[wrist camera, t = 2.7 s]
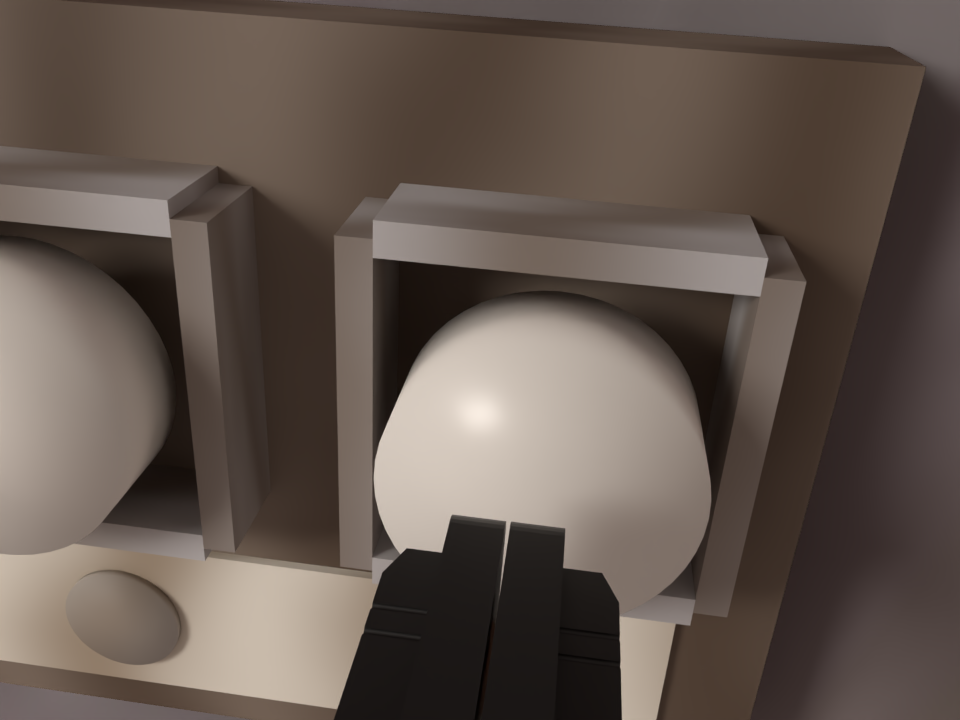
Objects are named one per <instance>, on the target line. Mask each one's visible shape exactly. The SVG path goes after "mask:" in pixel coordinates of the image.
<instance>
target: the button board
mask: <svg viewBox="0 0 960 720" xmlns="http://www.w3.org/2000/svg"><path fill="white" fill-rule="evenodd" d="M925 69H926V67H925V66H924V65H922V64H920V63H918V62H916V61H914V60H913V59H911V58H909V57H907V56H905V55H903V54H902V53H900V52H898V51H896V50H894V49H893V48H891V47H882V46H868V45H855V44H842V43H828V42H815V41H802V40H789V39H775V38H762V37H749V36H735V35H722V34H709V33H696V32H682V31H669V30H656V29H642V28H629V27H616V26H602V25H589V24H576V23H563V22H549V21H536V20H523V19H509V18H496V17H483V16H470V15H456V14H443V13H430V12H416V11H403V10H390V9H377V8H363V7H350V6H337V5H323V4H310V3H297V2H283V1H270V0H0V235H9V236H19V237H25V238H31V239H36V240H39V241H43V242H46V243H50V244H53V245H55V246H58V247H60V248H63V249H65V250H67V251H70V252H72V253H74V254H76V255H77V256H79V257H81V258H83V259H85V260H87V261H88V262H90V263H92V264H93V265H94V266H96V267H97V268H99V269H100V270H102V271H103V272H105V273H106V274H107V275H109V276H110V277H111V278H112V279H113V280H114V281H116V282H117V283H118V284H119V285H120V286H121V287H123V288H124V289H125V291H126V292H127V293H128V294H129V295H130V296H131V297H132V298H133V299H134V300H135V301H136V302H137V303H138V305H139V306H140V307H141V309H142V310H143V311H144V312H145V314H146V315H147V316H148V318H149V319H150V321H151V322H152V324H153V326H154V327H155V329H156V331H157V332H158V334H159V336H160V338H161V340H162V342H163V344H164V346H165V349H166V351H167V353H168V357H169V360H170V363H171V366H172V369H173V375H174V380H175V386H176V408H175V417H174V420H173V424H172V428H171V431H170V433H169V435H168V438H167V440H166V442H165V444H164V445H163V447H162V448H161V450H160V451H159V452H158V454H157V455H156V457H155V458H154V459H153V460H152V461H151V463H150V464H149V465H148V466H147V468H146V469H145V470H144V471H143V472H142V474H141V475H140V476H139V477H138V479H137V480H136V481H135V482H134V484H133V485H132V486H131V487H130V488H129V490H128V491H127V492H126V493H125V495H124V496H123V497H122V498H121V499H120V501H119V502H118V503H117V504H116V506H115V507H114V508H113V509H112V510H111V512H110V513H109V514H108V515H107V517H106V518H105V519H104V520H103V521H102V523H101V524H100V525H99V526H98V527H96V528H95V529H94V530H93V531H92V532H91V533H90V534H88V535H87V536H86V537H84V538H83V539H81V540H80V541H78V542H76V543H74V544H72V545H69V546H67V547H65V548H62V549H59V550H55V551H52V552H47V553H41V554H34V555H9V554H0V682H3V683H10V684H16V685H23V686H30V687H36V688H43V689H50V690H57V691H63V692H70V693H77V694H84V695H90V696H97V697H104V698H111V699H117V700H124V701H131V702H138V703H144V704H151V705H158V706H164V707H171V708H178V709H185V710H191V711H198V712H205V713H212V714H218V715H225V716H232V717H239V718H245V719H252V720H334V717H335V714H336V711H337V708H338V705H339V702H340V699H341V696H342V693H343V690H344V687H345V684H346V681H347V678H348V675H349V672H350V669H351V666H352V663H353V660H354V657H355V654H356V651H357V648H358V645H359V642H360V639H361V636H362V634H363V633H364V627H365V623H366V620H367V617H368V614H369V611H370V608H371V609H372V602H373V599H374V596H375V593H376V590H377V587H378V584H379V581H380V578H381V575H382V572H383V571H384V570H385V569H386V568H387V567H388V566H389V565H390V564H391V563H392V562H393V561H394V560H395V559H396V558H397V557H398V556H399V555H400V553H399V552H398V550H397V549H396V548H395V546H394V545H393V543H392V541H391V539H390V537H389V535H388V534H387V532H386V530H385V527H384V525H383V522H382V520H381V517H380V514H379V511H378V506H377V502H376V498H375V488H374V468H375V458H376V454H377V450H378V446H379V442H380V440H381V437H382V435H383V432H384V430H385V428H386V425H387V423H388V421H389V418H390V416H391V414H392V411H393V409H394V407H395V404H396V402H397V400H398V397H399V395H400V393H401V390H402V388H403V386H404V383H405V381H406V379H407V376H408V374H409V372H410V369H411V367H412V365H413V363H414V361H415V359H416V358H417V356H418V354H419V353H420V351H421V349H422V348H423V347H424V346H425V344H426V343H427V342H428V341H429V340H430V338H431V337H432V336H433V335H434V334H435V333H436V332H437V331H438V330H439V329H440V328H441V327H443V326H444V325H445V324H446V323H447V322H448V321H450V320H451V319H453V318H454V317H456V316H457V315H459V314H460V313H462V312H463V311H465V310H467V309H469V308H471V307H473V306H475V305H477V304H479V303H482V302H485V301H487V300H490V299H493V298H496V297H499V296H504V295H508V294H513V293H518V292H528V291H540V290H541V291H563V292H569V293H575V294H581V295H585V296H588V297H592V298H595V299H599V300H602V301H605V302H607V303H609V304H612V305H614V306H616V307H619V308H621V309H623V310H625V311H626V312H628V313H630V314H631V315H633V316H635V317H637V318H638V319H640V320H641V321H642V322H644V323H645V324H646V325H648V326H649V327H650V328H651V329H653V330H654V331H655V332H656V333H657V334H658V335H659V336H660V337H661V338H662V339H663V340H664V341H665V342H666V343H667V344H668V345H669V346H670V347H671V349H672V350H673V351H674V353H675V354H676V355H677V357H678V358H679V359H680V361H681V363H682V364H683V366H684V368H685V370H686V372H687V374H688V375H689V377H690V380H691V383H692V386H693V388H694V391H695V394H696V399H697V404H698V409H699V414H700V420H701V426H702V432H703V438H704V444H705V451H706V457H707V463H708V469H709V475H710V481H711V507H710V514H709V520H708V524H707V527H706V530H705V534H704V537H703V539H702V541H701V543H700V545H699V547H698V549H697V552H696V553H695V555H694V556H693V558H692V559H691V561H690V562H689V564H688V565H687V567H686V568H685V569H684V570H683V572H682V573H681V574H680V575H679V576H678V577H677V578H676V579H675V580H674V581H673V582H672V583H671V584H670V585H669V586H668V587H666V588H665V589H664V590H663V591H662V592H660V593H659V594H658V595H656V596H655V597H653V598H652V599H650V600H648V601H647V602H645V603H644V604H642V605H640V606H638V607H636V608H634V609H632V610H630V611H628V612H625V613H623V614H620V656H621V663H620V669H621V698H622V720H750V718H751V714H752V710H753V706H754V703H755V699H756V695H757V692H758V688H759V684H760V680H761V677H762V673H763V669H764V666H765V662H766V658H767V655H768V651H769V647H770V643H771V640H772V636H773V632H774V629H775V625H776V621H777V617H778V614H779V610H780V606H781V603H782V599H783V595H784V592H785V588H786V584H787V580H788V577H789V573H790V569H791V566H792V562H793V558H794V554H795V551H796V547H797V543H798V540H799V536H800V532H801V529H802V525H803V521H804V517H805V514H806V510H807V506H808V503H809V499H810V495H811V492H812V488H813V484H814V480H815V477H816V473H817V469H818V466H819V462H820V458H821V454H822V451H823V447H824V443H825V440H826V436H827V432H828V429H829V425H830V421H831V417H832V414H833V410H834V406H835V403H836V399H837V395H838V391H839V388H840V384H841V380H842V377H843V373H844V369H845V366H846V362H847V358H848V354H849V351H850V347H851V343H852V340H853V336H854V332H855V328H856V325H857V321H858V317H859V314H860V310H861V306H862V303H863V299H864V295H865V291H866V288H867V284H868V280H869V277H870V273H871V269H872V265H873V262H874V258H875V254H876V251H877V247H878V243H879V240H880V236H881V232H882V228H883V225H884V221H885V217H886V214H887V210H888V206H889V203H890V199H891V195H892V191H893V188H894V184H895V180H896V177H897V173H898V169H899V165H900V162H901V158H902V154H903V151H904V147H905V143H906V140H907V136H908V132H909V128H910V125H911V121H912V117H913V114H914V110H915V106H916V102H917V99H918V95H919V91H920V88H921V84H922V80H923V77H924V73H925Z"/></svg>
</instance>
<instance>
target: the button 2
mask: <svg viewBox="0 0 960 720" xmlns="http://www.w3.org/2000/svg"><path fill="white" fill-rule="evenodd" d="M374 488H375V498H376V502H377V506H378V511H379V514H380V517H381V520H382V522H383V525H384V527H385V530H386V532H387V534H388V535H389V537H390V539H391V541H392V543H393V545H394V546H395V548H396V549H397V550H398V552H399V553H400V554H401V553H402V552H403V551H404V550H405V549H407V548H410V549H417V550H425V551H433V552H441V553H442V550H443V546H444V542H445V538H446V534H447V530H448V526H449V522H450V518H451V516H452V515H461V516H469V517H477V518H485V519H493V520H501V521H506V533H505V544H504V555H503V565H502V576H501V583H502V577H503V570H504V563H505V557H506V550H507V543H508V537H509V530H510V524H511V522H519V523H527V524H535V525H543V526H551V527H559V528H565V546H564V563H563V568H568V569H576V570H583V571H591V572H599V573H603V575H604V577H605V579H606V580H607V582H608V584H609V586H610V587H611V589H612V591H613V593H614V594H615V596H616V598H617V600H618V601H619V613H620V614H623V613H625V612H628V611H630V610H632V609H634V608H636V607H638V606H640V605H642V604H644V603H645V602H647V601H648V600H650V599H652V598H653V597H655V596H656V595H658V594H659V593H660V592H662V591H663V590H664V589H665V588H666V587H668V586H669V585H670V584H671V583H672V582H673V581H674V580H675V579H676V578H677V577H678V576H679V575H680V574H681V573H682V572H683V570H684V569H685V568H686V567H687V565H688V564H689V562H690V561H691V559H692V558H693V556H694V555H695V553H696V552H697V549H698V547H699V545H700V543H701V541H702V539H703V537H704V534H705V530H706V527H707V524H708V520H709V514H710V507H711V481H710V475H709V469H708V463H707V457H706V451H705V444H704V438H703V432H702V426H701V420H700V414H699V409H698V404H697V399H696V394H695V391H694V388H693V386H692V383H691V380H690V377H689V375H688V374H687V372H686V370H685V368H684V366H683V364H682V363H681V361H680V359H679V358H678V357H677V355H676V354H675V353H674V351H673V350H672V349H671V347H670V346H669V345H668V344H667V343H666V342H665V341H664V340H663V339H662V338H661V337H660V336H659V335H658V334H657V333H656V332H655V331H654V330H653V329H651V328H650V327H649V326H648V325H646V324H645V323H644V322H642V321H641V320H640V319H638V318H637V317H635V316H633V315H631V314H630V313H628V312H626V311H625V310H623V309H621V308H619V307H616V306H614V305H612V304H609V303H607V302H605V301H602V300H599V299H595V298H592V297H588V296H585V295H581V294H575V293H569V292H563V291H541V290H540V291H528V292H518V293H513V294H508V295H504V296H499V297H496V298H493V299H490V300H487V301H485V302H482V303H479V304H477V305H475V306H473V307H471V308H469V309H467V310H465V311H463V312H462V313H460V314H459V315H457V316H456V317H454V318H453V319H451V320H450V321H448V322H447V323H446V324H445V325H444V326H443V327H441V328H440V329H439V330H438V331H437V332H436V333H435V334H434V335H433V336H432V337H431V338H430V340H429V341H428V342H427V343H426V344H425V346H424V347H423V348H422V349H421V351H420V353H419V354H418V356H417V358H416V359H415V361H414V363H413V365H412V367H411V369H410V372H409V374H408V376H407V379H406V381H405V383H404V386H403V388H402V390H401V393H400V395H399V397H398V400H397V402H396V404H395V407H394V409H393V411H392V414H391V416H390V418H389V421H388V423H387V425H386V428H385V430H384V432H383V435H382V437H381V440H380V442H379V446H378V450H377V454H376V458H375V468H374ZM500 590H501V586H500Z"/></svg>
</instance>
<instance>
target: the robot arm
mask: <svg viewBox="0 0 960 720" xmlns="http://www.w3.org/2000/svg"><path fill="white" fill-rule="evenodd" d="M505 533H506V521H501V520H493V519H485V518H477V517H469V516H461V515H452V516H451V518H450V522H449V526H448V530H447V534H446V538H445V542H444V546H443V550H442V553H441V552H433V551H425V550H417V549H410V548H407V549H405V550H404V551H403V552H402V553H401V554H400V555H399V556H398V557H397V558H396V559H395V560H394V561H393V562H392V563H391V564H390V565H389V566H388V567H387V568H386V569H385V570H384V571H383V572H382V575H381V578H380V581H379V584H378V587H377V590H376V593H375V596H374V599H373V602H372V609H371V608H370V611H369V614H368V617H367V620H366V623H365V627H364V633H363V634H362V636H361V639H360V642H359V645H358V648H357V651H356V654H355V657H354V660H353V663H352V666H351V669H350V672H349V675H348V678H347V681H346V684H345V687H344V690H343V693H342V696H341V699H340V702H339V705H338V708H337V711H336V714H335V717H334V720H622V698H621V669H620V663H621V656H620V613H619V601H618V600H617V598H616V596H615V594H614V593H613V591H612V589H611V587H610V586H609V584H608V582H607V580H606V579H605V577H604V575H603V573H599V572H591V571H583V570H576V569H568V568H563V563H564V546H565V528H559V527H551V526H543V525H535V524H527V523H519V522H511V524H510V530H509V537H508V543H507V550H506V557H505V563H504V570H503V577H502V583H501V576H502V565H503V555H504V544H505ZM500 586H501V590H500Z"/></svg>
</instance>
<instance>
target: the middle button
mask: <svg viewBox="0 0 960 720" xmlns="http://www.w3.org/2000/svg"><path fill="white" fill-rule="evenodd" d="M175 408H176V386H175V380H174V375H173V369H172V366H171V363H170V360H169V357H168V353H167V351H166V349H165V346H164V344H163V342H162V340H161V338H160V336H159V334H158V332H157V331H156V329H155V327H154V326H153V324H152V322H151V321H150V319H149V318H148V316H147V315H146V314H145V312H144V311H143V310H142V309H141V307H140V306H139V305H138V303H137V302H136V301H135V300H134V299H133V298H132V297H131V296H130V295H129V294H128V293H127V292H126V291H125V289H124V288H123V287H121V286H120V285H119V284H118V283H117V282H116V281H114V280H113V279H112V278H111V277H110V276H109V275H107V274H106V273H105V272H103V271H102V270H100V269H99V268H97V267H96V266H94V265H93V264H92V263H90V262H88V261H87V260H85V259H83V258H81V257H79V256H77V255H76V254H74V253H72V252H70V251H67V250H65V249H63V248H60V247H58V246H55V245H53V244H50V243H46V242H43V241H39V240H36V239H31V238H25V237H19V236H9V235H0V554H9V555H34V554H41V553H47V552H52V551H55V550H59V549H62V548H65V547H67V546H69V545H72V544H74V543H76V542H78V541H80V540H81V539H83V538H84V537H86V536H87V535H88V534H90V533H91V532H92V531H93V530H94V529H95V528H96V527H98V526H99V525H100V524H101V523H102V521H103V520H104V519H105V518H106V517H107V515H108V514H109V513H110V512H111V510H112V509H113V508H114V507H115V506H116V504H117V503H118V502H119V501H120V499H121V498H122V497H123V496H124V495H125V493H126V492H127V491H128V490H129V488H130V487H131V486H132V485H133V484H134V482H135V481H136V480H137V479H138V477H139V476H140V475H141V474H142V472H143V471H144V470H145V469H146V468H147V466H148V465H149V464H150V463H151V461H152V460H153V459H154V458H155V457H156V455H157V454H158V452H159V451H160V450H161V448H162V447H163V445H164V444H165V442H166V440H167V438H168V435H169V433H170V431H171V428H172V424H173V420H174V417H175Z"/></svg>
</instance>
